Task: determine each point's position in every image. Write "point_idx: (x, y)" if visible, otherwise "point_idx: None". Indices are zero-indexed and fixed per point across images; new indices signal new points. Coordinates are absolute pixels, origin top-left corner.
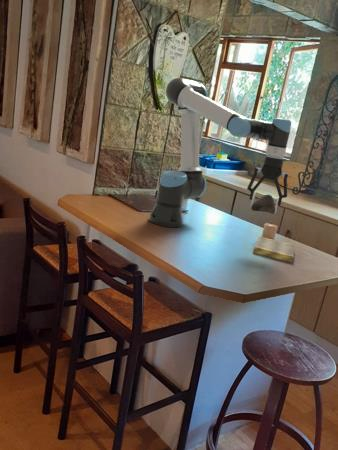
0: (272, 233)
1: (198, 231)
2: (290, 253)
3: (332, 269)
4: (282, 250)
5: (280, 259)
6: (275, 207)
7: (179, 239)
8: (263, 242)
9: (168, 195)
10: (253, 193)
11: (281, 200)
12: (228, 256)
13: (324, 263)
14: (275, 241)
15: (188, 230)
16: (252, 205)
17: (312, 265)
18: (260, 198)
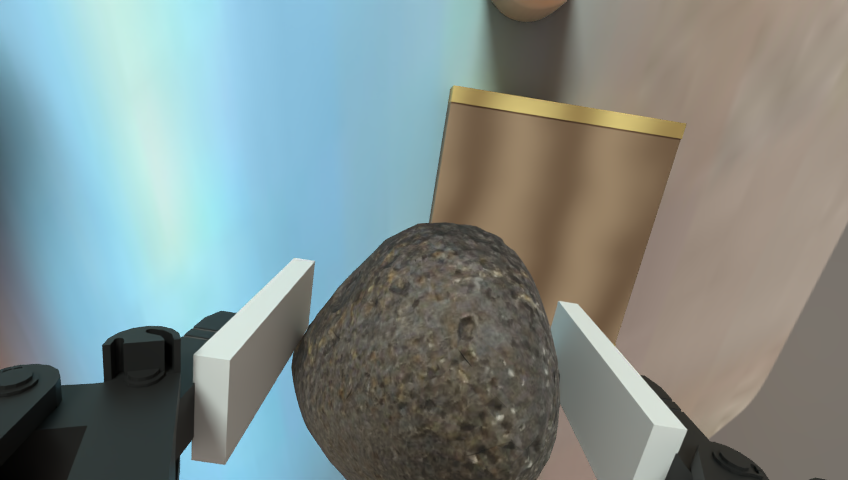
0: (563, 1)
1: (83, 145)
2: (609, 308)
3: (799, 306)
4: (571, 287)
5: None
6: (567, 405)
7: (55, 359)
8: (474, 209)
9: None
10: (200, 453)
11: (694, 439)
12: (305, 434)
13: (793, 238)
14: (562, 124)
15: (28, 170)
16: (294, 385)
17: (702, 312)
18: (349, 468)
